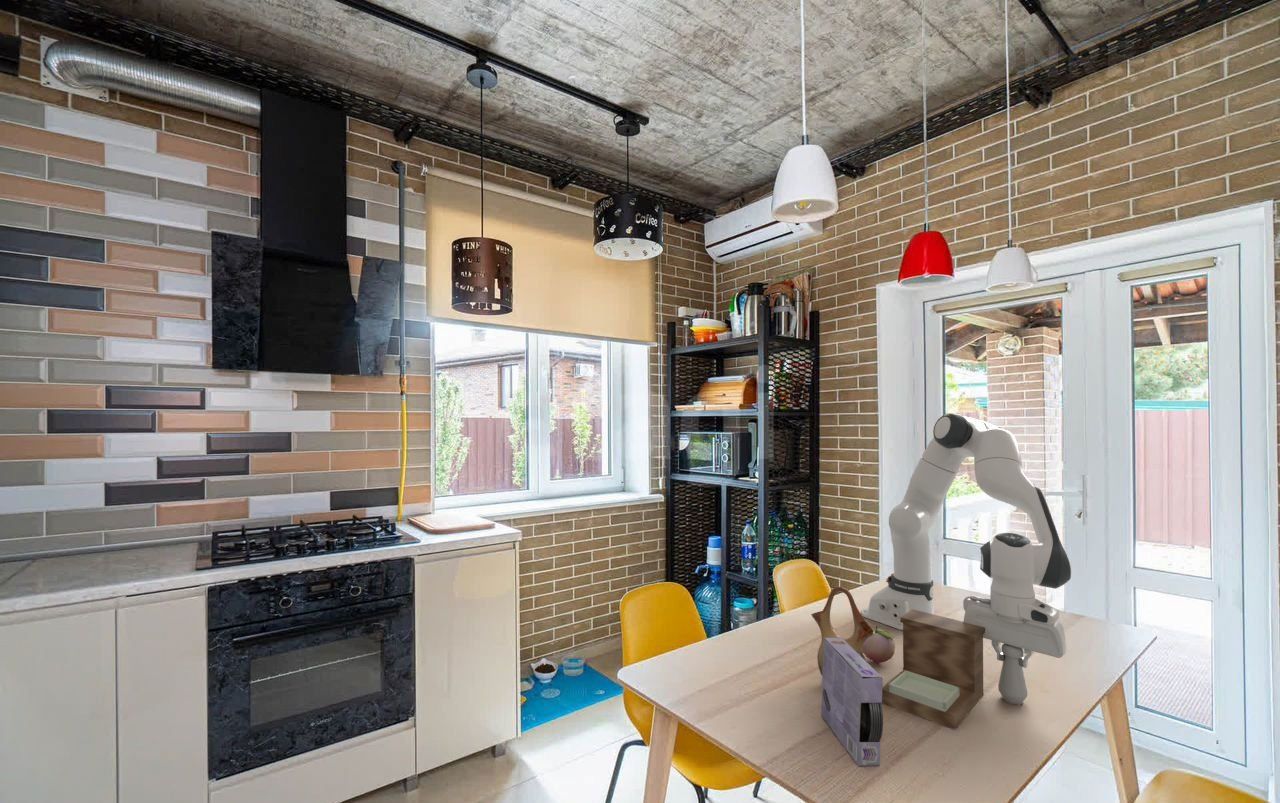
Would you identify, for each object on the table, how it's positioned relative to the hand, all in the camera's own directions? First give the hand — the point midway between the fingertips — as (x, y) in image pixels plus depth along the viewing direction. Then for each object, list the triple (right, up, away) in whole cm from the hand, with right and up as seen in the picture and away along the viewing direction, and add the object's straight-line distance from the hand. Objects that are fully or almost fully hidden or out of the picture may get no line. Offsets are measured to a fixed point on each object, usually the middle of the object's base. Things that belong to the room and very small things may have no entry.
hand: (1012, 663), depth 133 cm
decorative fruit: (-23, -9, +20) cm, 32 cm away
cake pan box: (-44, -9, -16) cm, 48 cm away
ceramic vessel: (-38, -9, +5) cm, 40 cm away
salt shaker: (0, -9, 0) cm, 9 cm away
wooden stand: (-18, -9, +1) cm, 20 cm away
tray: (-22, -6, -3) cm, 23 cm away
